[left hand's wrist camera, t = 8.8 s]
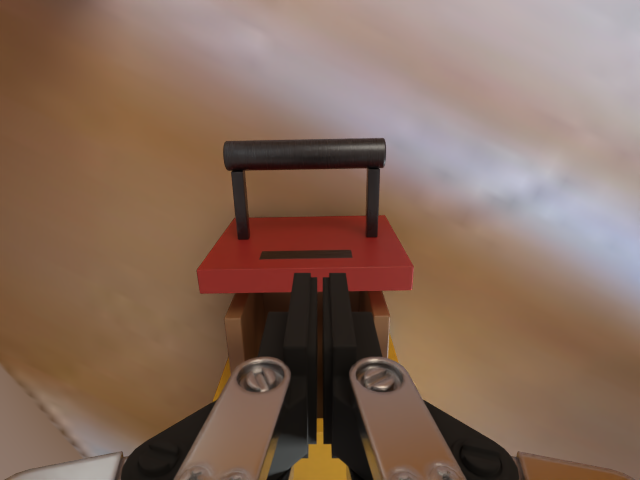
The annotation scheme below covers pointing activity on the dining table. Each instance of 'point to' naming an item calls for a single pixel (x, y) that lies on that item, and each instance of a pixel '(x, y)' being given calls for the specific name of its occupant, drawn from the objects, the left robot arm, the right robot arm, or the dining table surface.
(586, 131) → the dining table surface
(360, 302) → the drawer
